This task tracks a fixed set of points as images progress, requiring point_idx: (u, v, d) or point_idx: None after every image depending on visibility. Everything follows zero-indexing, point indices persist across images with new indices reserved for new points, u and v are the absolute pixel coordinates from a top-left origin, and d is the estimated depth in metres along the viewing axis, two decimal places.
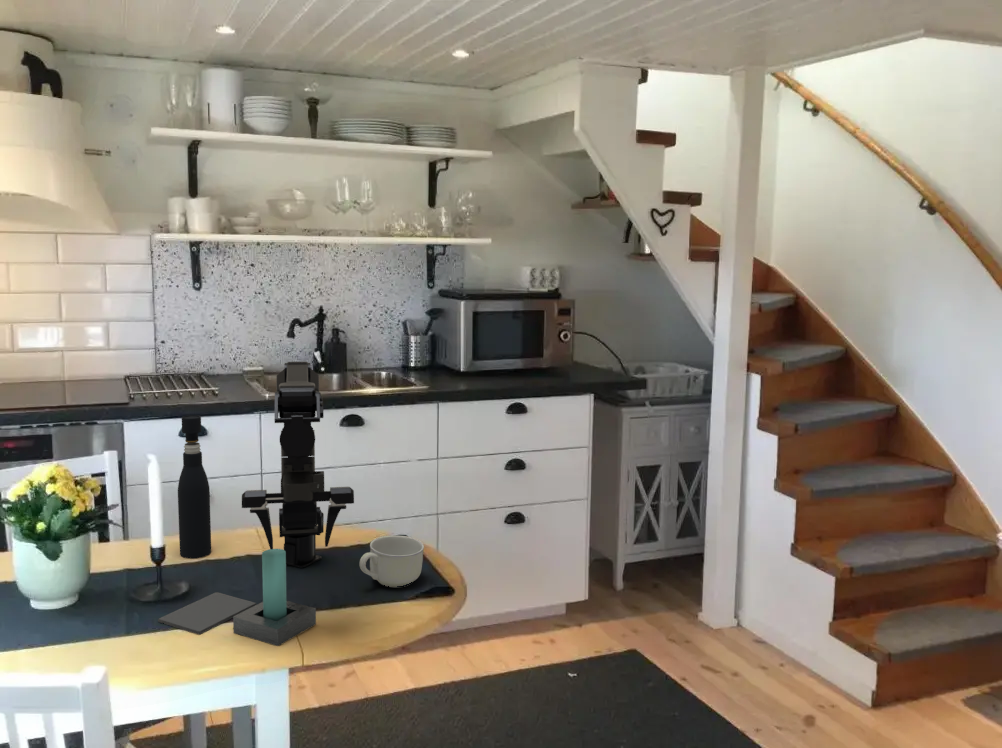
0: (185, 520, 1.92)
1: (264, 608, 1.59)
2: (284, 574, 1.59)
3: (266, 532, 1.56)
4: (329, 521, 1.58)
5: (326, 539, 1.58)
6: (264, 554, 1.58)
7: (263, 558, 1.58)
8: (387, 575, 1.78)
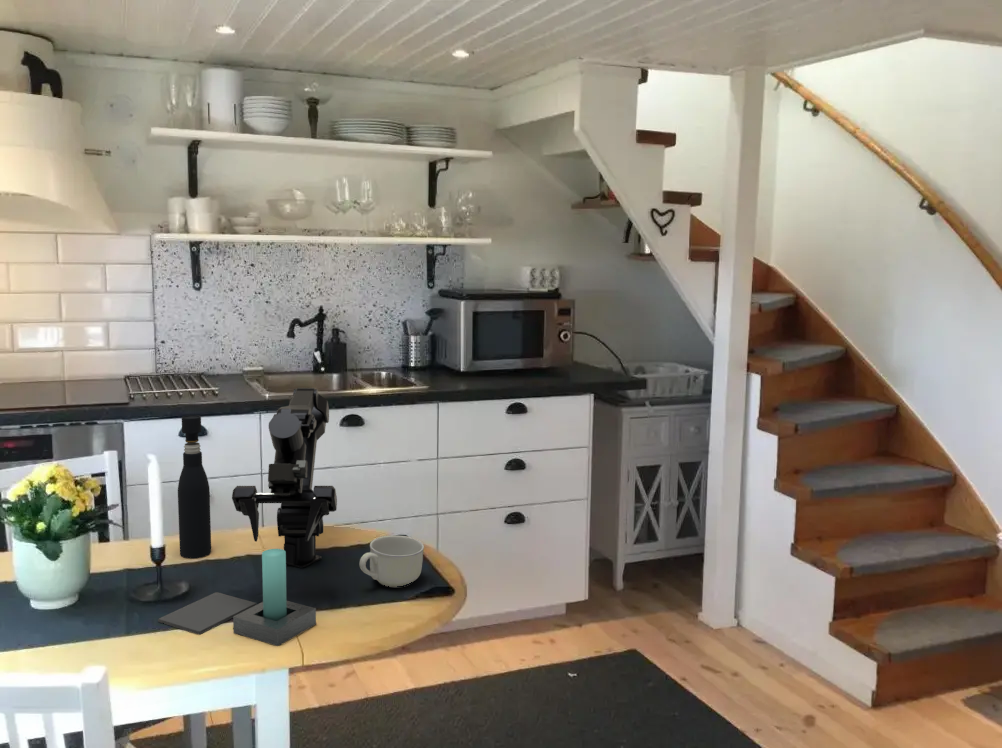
0: (185, 520, 1.92)
1: (264, 608, 1.59)
2: (284, 574, 1.59)
3: (252, 523, 1.67)
4: (310, 515, 1.69)
5: (306, 532, 1.68)
6: (264, 554, 1.58)
7: (263, 558, 1.58)
8: (387, 575, 1.78)
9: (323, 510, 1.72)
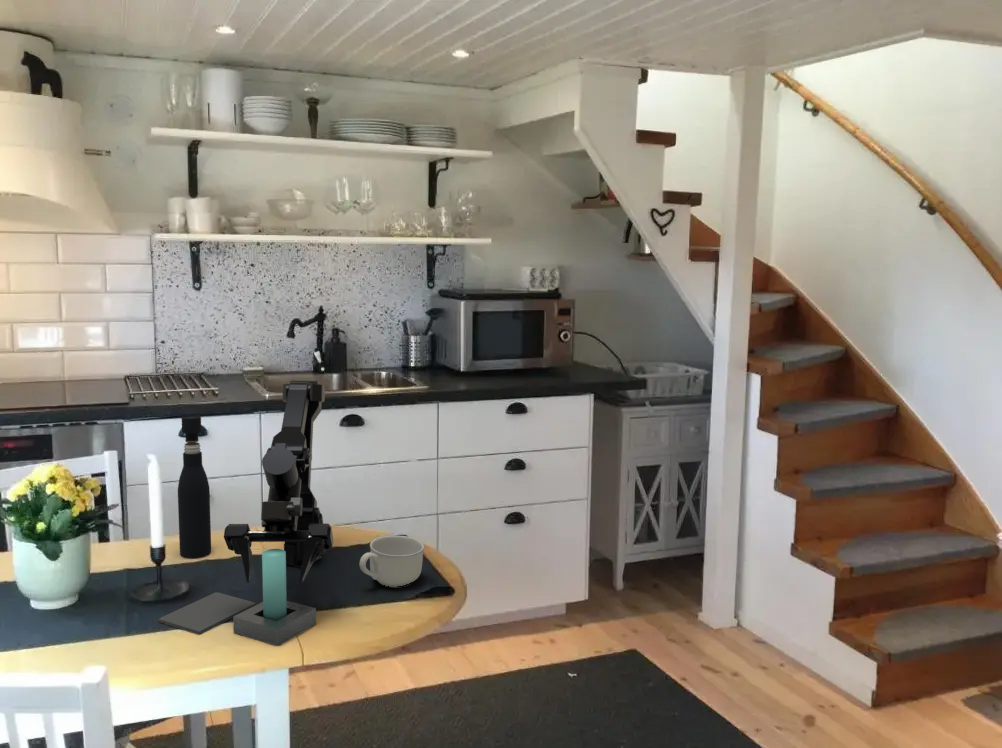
0: (185, 520, 1.92)
1: (264, 608, 1.59)
2: (284, 574, 1.59)
3: (244, 563, 1.61)
4: (305, 554, 1.62)
5: (301, 572, 1.61)
6: (264, 554, 1.58)
7: (263, 558, 1.58)
8: (387, 575, 1.78)
9: (318, 549, 1.65)
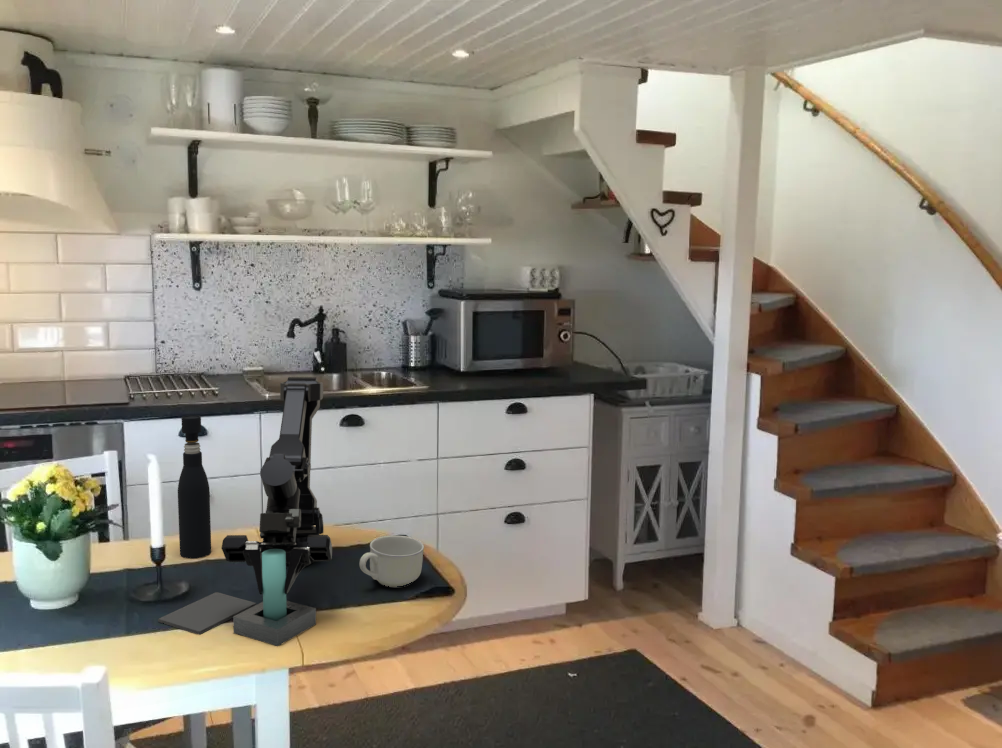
0: (185, 520, 1.92)
1: (264, 608, 1.59)
2: (284, 574, 1.59)
3: (256, 575, 1.59)
4: (290, 566, 1.61)
5: (286, 584, 1.59)
6: (264, 554, 1.58)
7: (263, 558, 1.58)
8: (387, 575, 1.78)
9: (303, 560, 1.64)
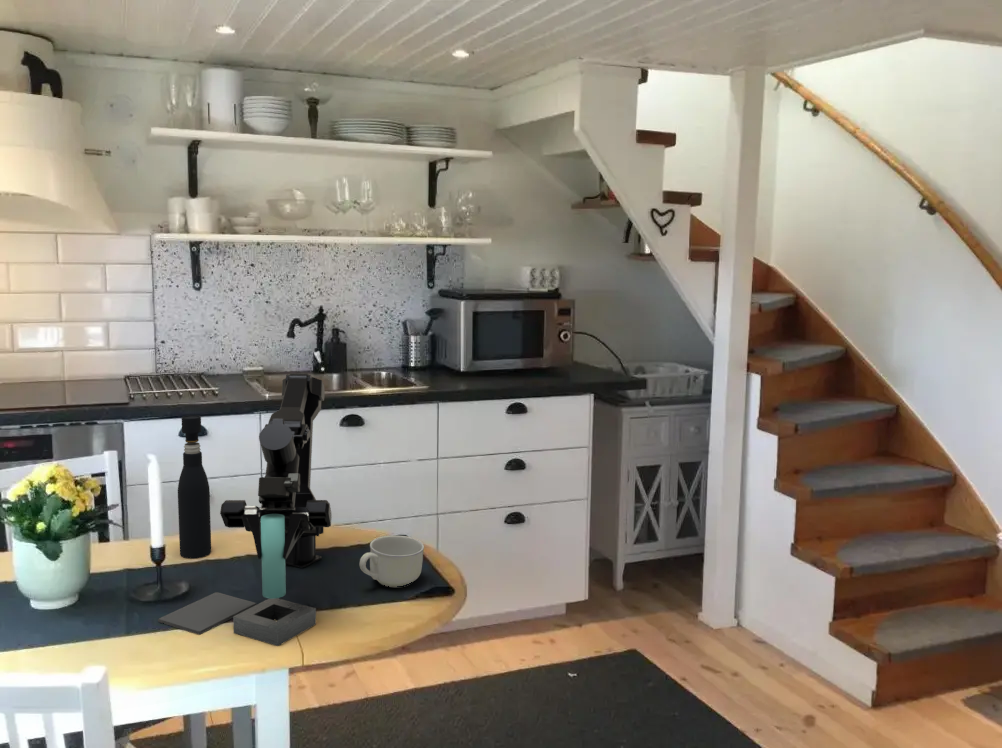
0: (185, 520, 1.92)
1: (263, 573, 1.58)
2: (283, 539, 1.58)
3: (255, 539, 1.58)
4: (289, 531, 1.59)
5: (285, 549, 1.58)
6: (263, 518, 1.57)
7: (262, 522, 1.57)
8: (387, 575, 1.78)
9: (302, 526, 1.63)
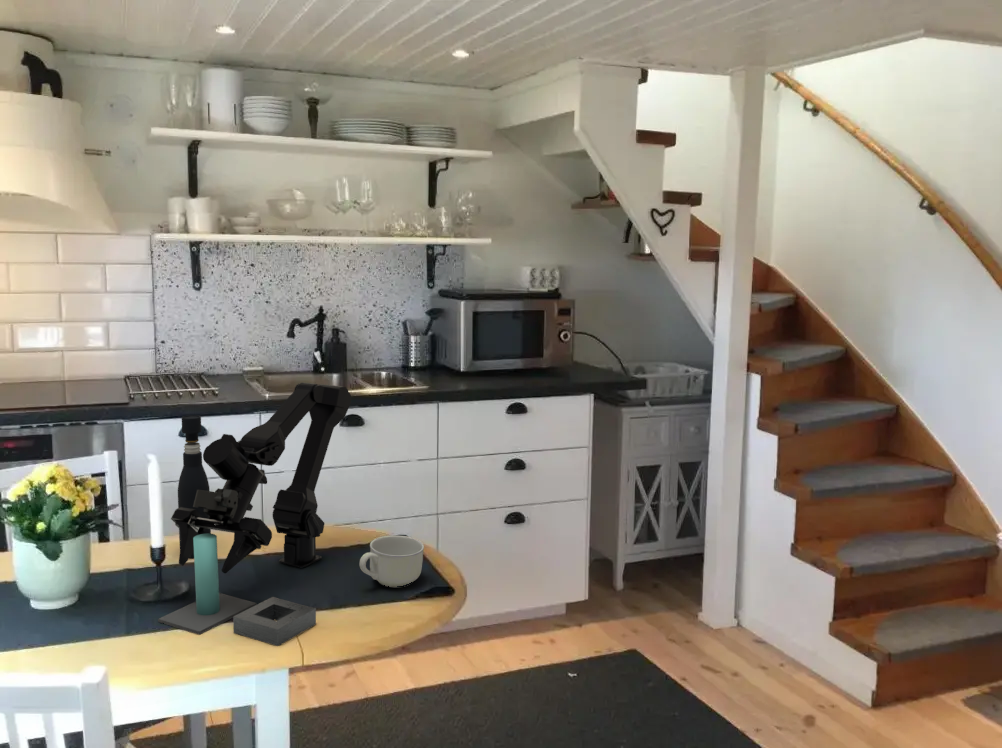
0: None
1: None
2: (212, 559, 1.64)
3: (181, 546, 1.67)
4: (232, 547, 1.64)
5: (224, 564, 1.63)
6: (195, 537, 1.64)
7: (193, 541, 1.64)
8: (387, 575, 1.78)
9: (252, 543, 1.66)
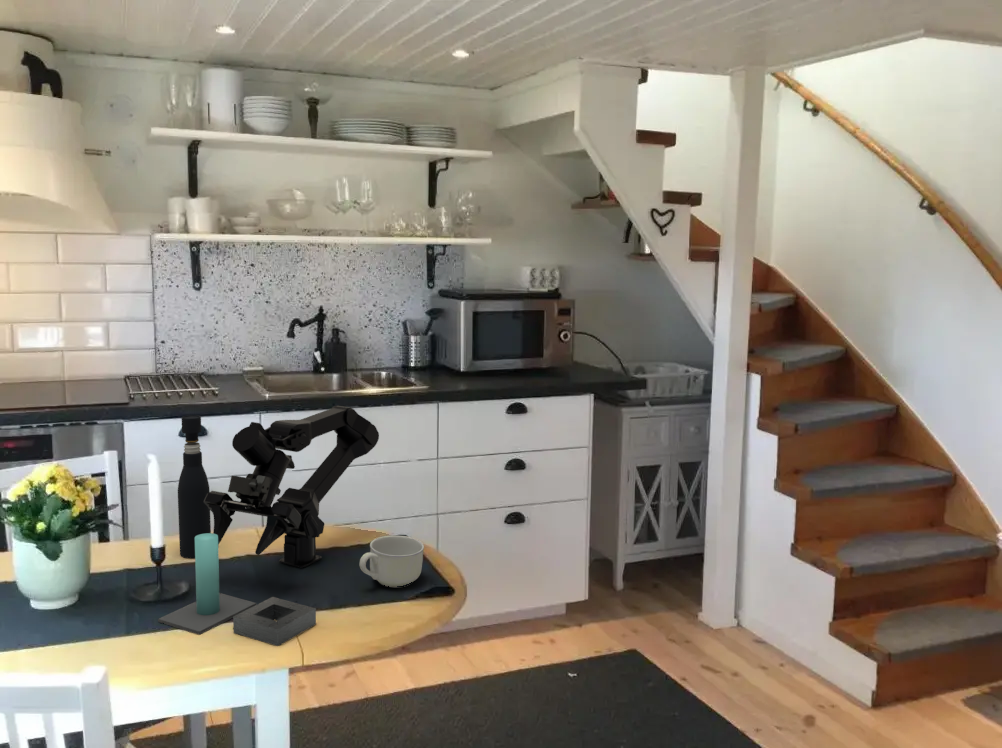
0: (185, 520, 1.92)
1: (196, 589, 1.65)
2: (213, 559, 1.64)
3: (214, 528, 1.75)
4: (265, 530, 1.73)
5: (258, 546, 1.72)
6: (196, 537, 1.64)
7: (195, 540, 1.64)
8: (387, 575, 1.78)
9: (282, 526, 1.75)
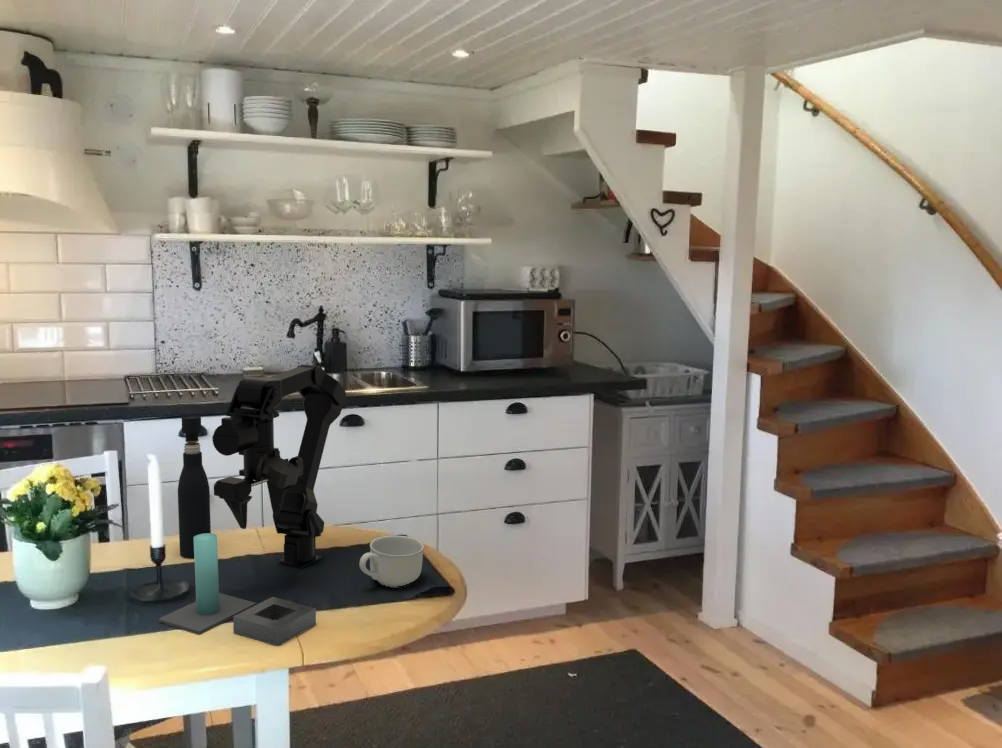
0: (185, 520, 1.92)
1: None
2: (212, 559, 1.64)
3: (244, 515, 1.72)
4: (283, 494, 1.81)
5: (279, 510, 1.82)
6: (195, 537, 1.64)
7: None
8: (387, 575, 1.78)
9: None
